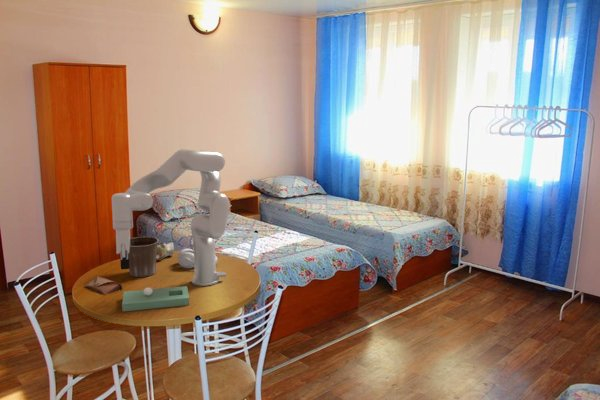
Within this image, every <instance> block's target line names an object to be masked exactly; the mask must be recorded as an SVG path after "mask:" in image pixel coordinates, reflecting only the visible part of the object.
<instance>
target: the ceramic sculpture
mask: <svg viewBox="0 0 600 400" xmlns="http://www.w3.org/2000/svg"><path fill="white" fill-rule="evenodd" d="M174 250H175V248H174V242H173V241H171V242H169V243H165V242H160V244H158V246H157V253H156V261H161V260H163V259H165V258H166V257H168V256H169V257H173V256H174V254H175V251H174Z"/></svg>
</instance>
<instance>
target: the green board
mask: <svg viewBox="0 0 600 400" xmlns="http://www.w3.org/2000/svg"><path fill="white" fill-rule="evenodd" d="M151 289H152V291H153V292H152V294H151V295H150V296H146V295H145V294H144V289H141V290H139V289H138V290H131V291H130V290H129V291H123V294H122V302H121V309H122V310H121V311H122V312H123V313H124V312H131V311H142V310H151V309H161V308H170V307H171V308H172V307H179V306H190V295H189V291H188V285H187V286H186V285H183V286H175V287H174V286H173V287H164V288H163V287H161V288H151Z"/></svg>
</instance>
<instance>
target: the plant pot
mask: <svg viewBox="0 0 600 400" xmlns="http://www.w3.org/2000/svg"><path fill="white" fill-rule="evenodd" d="M158 243H159V238H157V237H152V236H136V237H130V251H129V253H128V258H129V269H128V274H129V275H130V276H131V277H133V278H145V277H147V276H148V277H150V276H153V275H155V274H156V273H157V260H156V253H157V246H158V245H159V244H158Z"/></svg>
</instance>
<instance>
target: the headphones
mask: <svg viewBox="0 0 600 400" xmlns="http://www.w3.org/2000/svg"><path fill="white" fill-rule="evenodd" d="M218 259H219V258H218V256H217V255H216V254H215V266H216V265H217V264H218V261H219V260H218ZM177 262H178V264H179V266H180V267H182V268H183V269H193V268H194V249H192V248H188V247H187V248H183V249H181V250H180V251H179V252H178V254H177Z"/></svg>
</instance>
